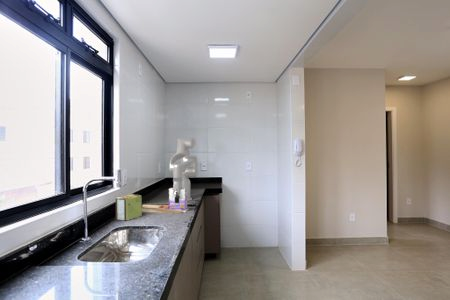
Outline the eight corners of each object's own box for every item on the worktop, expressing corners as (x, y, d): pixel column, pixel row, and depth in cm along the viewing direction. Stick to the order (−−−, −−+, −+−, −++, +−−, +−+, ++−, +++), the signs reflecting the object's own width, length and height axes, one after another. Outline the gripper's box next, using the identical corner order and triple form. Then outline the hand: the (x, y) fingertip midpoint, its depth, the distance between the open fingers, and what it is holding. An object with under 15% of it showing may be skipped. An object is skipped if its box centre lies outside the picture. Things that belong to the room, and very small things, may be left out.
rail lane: (143, 207, 218) (143, 204, 218) (186, 208, 214) (186, 205, 214) (134, 211, 203) (134, 208, 203) (181, 213, 199) (181, 209, 199)
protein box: (142, 215, 192) (141, 195, 192) (126, 221, 178) (125, 199, 178) (131, 214, 197) (131, 194, 197) (115, 219, 183) (115, 197, 183)
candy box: (187, 207, 209) (187, 187, 209) (185, 209, 203) (185, 188, 203) (170, 207, 211) (170, 187, 210) (168, 209, 205) (168, 188, 205)
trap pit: (162, 208, 214) (162, 204, 214) (170, 208, 213) (170, 205, 213) (157, 211, 203) (157, 208, 203) (165, 212, 202) (165, 208, 202)
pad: (171, 208, 213) (171, 208, 213) (188, 209, 211) (188, 208, 211) (166, 212, 202) (166, 211, 202) (185, 212, 201) (185, 212, 201)
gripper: (176, 178, 216) (176, 199, 216) (169, 181, 198) (170, 204, 199) (185, 178, 215) (185, 199, 215) (179, 181, 198) (179, 204, 198)
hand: (178, 201), depth 207 cm, fingers closed on candy box, 5 cm apart
